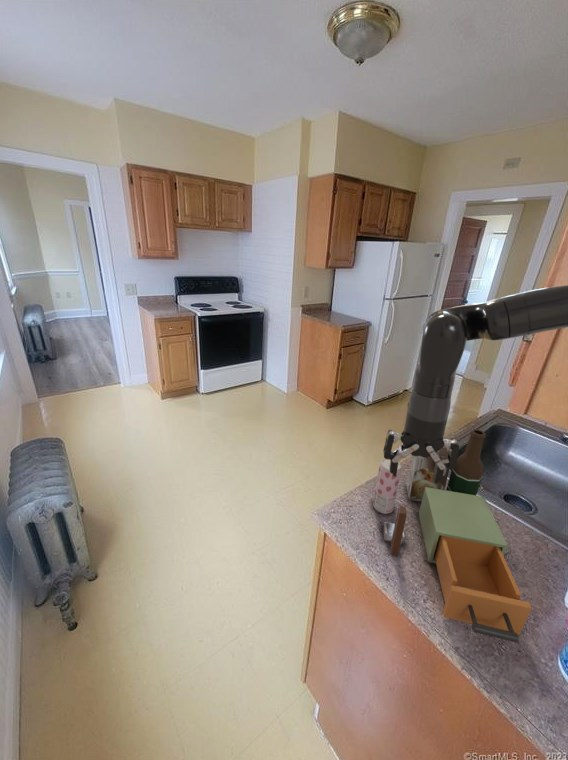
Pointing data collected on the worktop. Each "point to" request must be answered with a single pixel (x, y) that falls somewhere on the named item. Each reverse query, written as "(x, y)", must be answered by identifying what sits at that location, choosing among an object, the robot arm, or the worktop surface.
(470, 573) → the drawer
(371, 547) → the worktop surface
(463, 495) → the cabinet
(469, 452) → the beer bottle
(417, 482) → the coffee box
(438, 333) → the robot arm
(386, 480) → the beverage can
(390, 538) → the scoop
